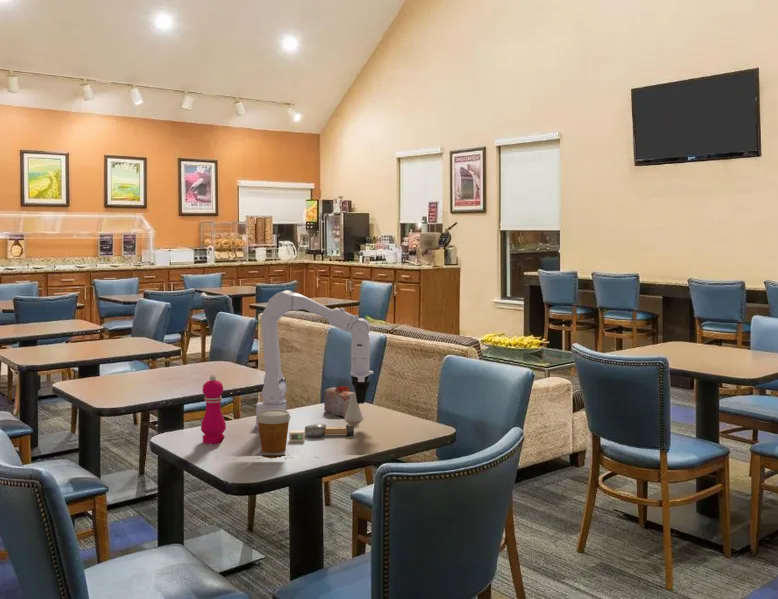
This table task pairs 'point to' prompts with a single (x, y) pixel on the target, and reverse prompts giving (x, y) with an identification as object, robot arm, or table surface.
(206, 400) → the pepper mill
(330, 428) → the wooden handled metal tool
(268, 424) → the disposable coffee cup
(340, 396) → the food item
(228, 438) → the table surface
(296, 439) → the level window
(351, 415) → the flask
